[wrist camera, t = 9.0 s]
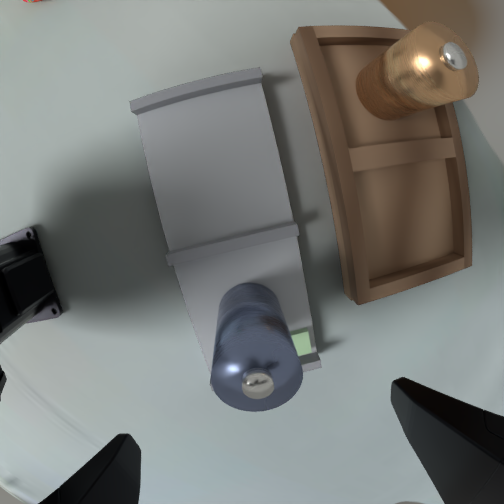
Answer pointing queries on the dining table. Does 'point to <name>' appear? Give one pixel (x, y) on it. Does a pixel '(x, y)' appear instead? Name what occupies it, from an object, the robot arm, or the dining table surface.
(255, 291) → the cylinder
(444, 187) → the tray
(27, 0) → the mug
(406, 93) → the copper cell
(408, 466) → the dining table surface
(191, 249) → the cradle
